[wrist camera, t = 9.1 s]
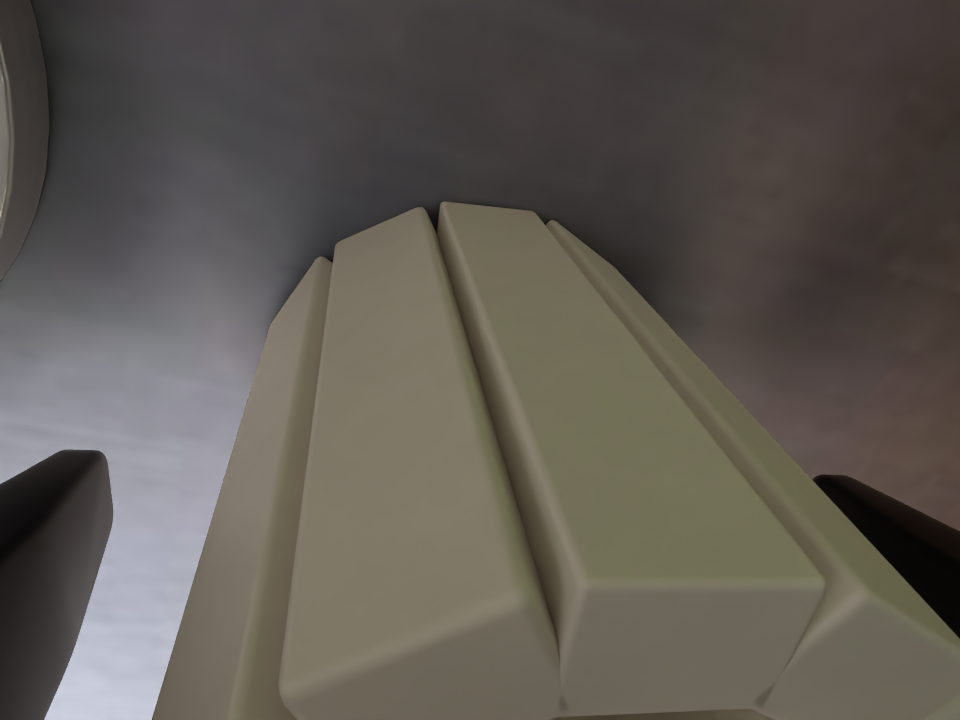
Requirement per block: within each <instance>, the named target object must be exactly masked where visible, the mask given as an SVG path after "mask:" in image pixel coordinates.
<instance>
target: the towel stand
mask: <svg viewBox="0 0 960 720" xmlns="http://www.w3.org/2000/svg"><path fill="white" fill-rule="evenodd" d="M49 127H50V123H49V107H48V92H47V76H46V69H45V64H44V59H43V54H42V49H41V44H40V38H39V33H38V28H37V23H36V18H35V14H34V11H33V8H32V5H31V2H30V0H0V282H1V280H2V278H3V277H4V275H5V274H6V272H7V271H8V269H9V268H10V266H11V265H12V263H13V262H14V260H15V259H16V257H17V256H18V254H19V252H20V250H21V248H22V245H23V243H24V241H25V238H26V236H27V234H28V231H29V229H30V227H31V224H32V222H33V220H34V217H35V215H36V211H37V207H38V203H39V199H40V194H41V190H42V186H43V182H44V178H45V174H46V164H47V152H48V139H49Z"/></svg>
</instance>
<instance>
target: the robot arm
mask: <svg viewBox="0 0 960 720" xmlns="http://www.w3.org/2000/svg"><path fill="white" fill-rule="evenodd" d="M813 481H814V482H815V484H816V485H817V486H818V487H819V488H820V489H821V490H822V491H823V492H824V493H825V494H826V495H827V496H828V498H829V499H830V500H831V501H832V502H833V503H834V504H835V505H836V506H837V507H838V508H839V509H840V510H841V512H842V513H843V514H844V515H845V516H846V517H847V518H848V519H849V520H850V521H851V522H852V523H853V524H854V526H855V527H856V528H857V529H858V530H859V531H860V532H861V533H862V534H863V535H864V536H865V537H866V538H867V540H868V541H869V542H870V543H871V544H872V545H873V546H874V547H875V548H876V549H877V550H878V551H879V552H880V553H881V555H882V556H883V557H884V558H885V559H886V560H887V561H888V562H889V563H890V564H891V565H892V566H893V567H894V569H895V570H896V571H897V572H898V573H899V574H900V575H901V576H902V577H903V578H904V579H905V580H906V581H907V583H908V584H909V585H910V586H911V587H912V588H913V589H914V590H915V591H916V592H917V593H918V594H919V595H920V597H921V598H922V599H923V600H924V601H925V602H926V603H927V604H928V605H929V606H930V607H931V608H932V609H933V611H934V612H935V613H936V614H937V615H938V616H939V617H940V618H941V619H942V620H943V621H944V622H945V623H946V625H947V626H948V627H949V628H950V629H951V630H952V631H953V632H954V633H955V634H956V635H957V636H958V637H959V639H960V532H959V531H957V530H955V529H953V528H951V527H949V526H947V525H945V524H943V523H941V522H939V521H937V520H935V519H933V518H931V517H929V516H927V515H925V514H923V513H921V512H919V511H917V510H915V509H913V508H911V507H909V506H907V505H905V504H903V503H901V502H899V501H897V500H895V499H893V498H891V497H889V496H887V495H885V494H883V493H881V492H879V491H877V490H875V489H873V488H871V487H869V486H867V485H865V484H863V483H861V482H859V481H857V480H855V479H853V478H851V477H848V476H844V475H819V476H816V477H815V478H814V479H813ZM112 521H113V503H112V495H111V487H110V479H109V471H108V463H107V459H106V457H105V455H104V454H103V453H102V452H100V451H94V450H62V451H60V452H58V453H55V454H54V455H52V456H50V457H48V458H47V459H45V460H43V461H41V462H39V463H38V464H36V465H34V466H32V467H31V468H29V469H27V470H25V471H23V472H22V473H20V474H18V475H16V476H15V477H13V478H11V479H9V480H7V481H6V482H4V483H2V484H0V720H44V718H45V716H46V714H47V712H48V709H49V707H50V705H51V703H52V700H53V698H54V696H55V694H56V691H57V689H58V687H59V685H60V682H61V680H62V678H63V675H64V673H65V670H66V668H67V666H68V663H69V661H70V658H71V656H72V653H73V650H74V647H75V644H76V641H77V638H78V635H79V632H80V629H81V625H82V622H83V619H84V616H85V612H86V609H87V606H88V603H89V599H90V596H91V593H92V590H93V586H94V583H95V580H96V577H97V573H98V570H99V567H100V564H101V560H102V557H103V554H104V551H105V547H106V544H107V541H108V538H109V534H110V531H111V527H112Z"/></svg>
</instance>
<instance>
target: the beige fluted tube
mask: <svg viewBox="0 0 960 720" xmlns="http://www.w3.org/2000/svg"><path fill="white" fill-rule="evenodd" d="M152 720H960V639H959V637H958V636H957V635H956V634H955V633H954V632H953V631H952V630H951V629H950V628H949V627H948V626H947V625H946V623H945V622H944V621H943V620H942V619H941V618H940V617H939V616H938V615H937V614H936V613H935V612H934V611H933V609H932V608H931V607H930V606H929V605H928V604H927V603H926V602H925V601H924V600H923V599H922V598H921V597H920V595H919V594H918V593H917V592H916V591H915V590H914V589H913V588H912V587H911V586H910V585H909V584H908V583H907V581H906V580H905V579H904V578H903V577H902V576H901V575H900V574H899V573H898V572H897V571H896V570H895V569H894V567H893V566H892V565H891V564H890V563H889V562H888V561H887V560H886V559H885V558H884V557H883V556H882V555H881V553H880V552H879V551H878V550H877V549H876V548H875V547H874V546H873V545H872V544H871V543H870V542H869V541H868V540H867V538H866V537H865V536H864V535H863V534H862V533H861V532H860V531H859V530H858V529H857V528H856V527H855V526H854V524H853V523H852V522H851V521H850V520H849V519H848V518H847V517H846V516H845V515H844V514H843V513H842V512H841V510H840V509H839V508H838V507H837V506H836V505H835V504H834V503H833V502H832V501H831V500H830V499H829V498H828V496H827V495H826V494H825V493H824V492H823V491H822V490H821V489H820V488H819V487H818V486H817V485H816V484H815V482H814V481H813V480H812V479H811V478H810V477H809V476H808V475H807V474H806V473H805V472H804V471H803V470H802V468H801V467H800V466H799V465H798V464H797V463H796V462H795V461H794V460H793V459H792V458H791V457H790V456H789V454H788V453H787V452H786V451H785V450H784V449H783V448H782V447H781V446H780V445H779V444H778V443H777V442H776V440H775V439H774V438H773V437H772V436H771V435H770V434H769V433H768V432H767V431H766V430H765V429H764V428H763V426H762V425H761V424H760V423H759V422H758V421H757V420H756V419H755V418H754V417H753V416H752V415H751V414H750V412H749V411H748V410H747V409H746V408H745V407H744V406H743V405H742V404H741V403H740V402H739V401H738V400H737V398H736V397H735V396H734V395H733V394H732V393H731V392H730V391H729V390H728V389H727V388H726V387H725V386H724V384H723V383H722V382H721V381H720V380H719V379H718V378H717V377H716V376H715V375H714V374H713V373H712V372H711V371H710V369H709V368H708V367H707V366H706V365H705V364H704V363H703V362H702V361H701V360H700V359H699V358H698V357H697V355H696V354H695V353H694V352H693V351H692V350H691V349H690V348H689V347H688V346H687V345H686V344H685V343H684V341H683V340H682V339H681V338H680V337H679V336H678V335H677V334H676V333H675V332H674V331H673V330H672V329H671V327H670V326H669V325H668V324H667V323H666V322H665V321H664V320H663V319H662V318H661V317H660V316H659V315H658V313H657V312H656V311H655V310H654V309H653V308H652V307H651V306H650V305H649V304H648V303H647V302H646V301H645V299H644V298H643V297H642V296H641V295H640V294H639V293H638V292H637V291H636V290H635V289H634V288H633V287H632V285H631V284H630V283H629V282H628V281H627V280H626V279H625V278H624V277H623V276H622V275H621V274H620V273H619V271H618V270H617V269H616V268H615V267H613V266H612V265H611V264H610V263H608V262H607V261H606V260H605V259H603V258H602V257H601V256H600V255H598V254H597V253H596V252H594V251H593V250H592V249H591V248H589V247H588V246H587V245H586V244H584V243H583V242H582V241H580V240H579V239H578V238H577V237H575V236H574V235H573V234H572V233H570V232H569V231H568V230H566V229H565V228H564V227H563V226H561V225H560V224H559V223H558V222H556V221H553V220H551V221H549V222H548V223H547V224H546V226H545V225H544V223H543V222H542V221H541V219H540V218H539V217H538V216H537V214H536V213H535V212H533V211H527V210H518V209H509V208H499V207H490V206H481V205H472V204H463V203H453V202H442V203H441V205H440V210H439V219H438V227H437V234H436V232H435V229H434V227H433V225H432V223H431V220H430V218H429V216H428V214H427V211H426V210H425V209H424V208H423V207H416V208H414V209H412V210H410V211H407V212H405V213H403V214H401V215H398V216H396V217H394V218H391V219H389V220H387V221H385V222H382V223H380V224H378V225H375V226H373V227H371V228H369V229H366V230H364V231H362V232H359V233H357V234H355V235H353V236H350V237H348V238H346V239H343V240H341V241H339V242H338V243H337V244H336V245H335V251H334V259H333V263H332V262H330V261H329V260H327V259H326V258H324V257H318V258H317V259H316V260H315V261H314V263H313V264H312V266H311V267H310V268H309V270H308V271H307V273H306V274H305V276H304V277H303V278H302V280H301V281H300V283H299V284H298V286H297V287H296V288H295V290H294V291H293V293H292V294H291V296H290V297H289V298H288V300H287V301H286V303H285V304H284V306H283V307H282V308H281V310H280V311H279V313H278V314H277V316H276V317H275V318H274V320H273V321H272V323H271V324H270V327H269V330H268V334H267V337H266V340H265V344H264V347H263V350H262V353H261V357H260V360H259V363H258V367H257V370H256V373H255V377H254V380H253V383H252V387H251V390H250V393H249V397H248V400H247V403H246V407H245V410H244V413H243V417H242V420H241V423H240V427H239V430H238V433H237V437H236V440H235V443H234V447H233V450H232V453H231V457H230V460H229V463H228V467H227V470H226V473H225V477H224V480H223V484H222V487H221V490H220V494H219V497H218V500H217V504H216V507H215V510H214V514H213V517H212V520H211V524H210V527H209V530H208V534H207V537H206V540H205V544H204V547H203V550H202V554H201V557H200V560H199V564H198V567H197V570H196V574H195V577H194V580H193V584H192V587H191V590H190V594H189V597H188V600H187V604H186V607H185V611H184V614H183V617H182V621H181V624H180V627H179V631H178V634H177V637H176V641H175V644H174V647H173V651H172V654H171V657H170V661H169V664H168V667H167V671H166V674H165V677H164V681H163V684H162V687H161V691H160V694H159V697H158V701H157V704H156V707H155V711H154V714H153V717H152Z"/></svg>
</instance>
